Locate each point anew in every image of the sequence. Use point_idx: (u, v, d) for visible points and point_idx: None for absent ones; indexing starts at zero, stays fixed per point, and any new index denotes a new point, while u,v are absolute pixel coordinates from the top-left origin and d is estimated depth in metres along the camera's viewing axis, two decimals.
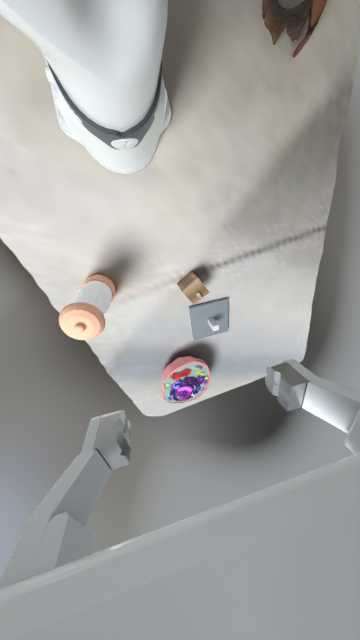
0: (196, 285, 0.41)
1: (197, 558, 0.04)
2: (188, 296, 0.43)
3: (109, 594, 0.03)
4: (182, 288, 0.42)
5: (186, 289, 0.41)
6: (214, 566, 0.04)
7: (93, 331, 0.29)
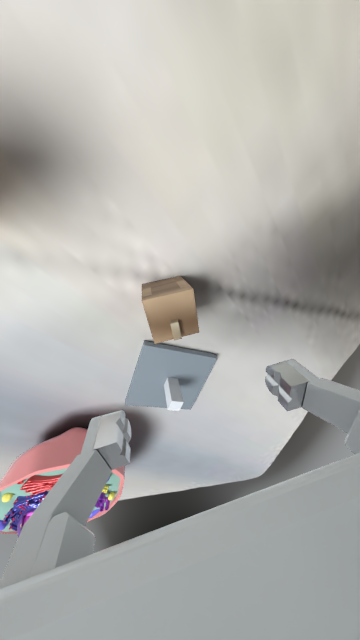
0: (181, 304, 0.17)
1: (197, 558, 0.04)
2: (151, 319, 0.17)
3: (109, 594, 0.03)
4: (146, 295, 0.17)
5: (154, 301, 0.16)
6: (214, 566, 0.04)
7: None
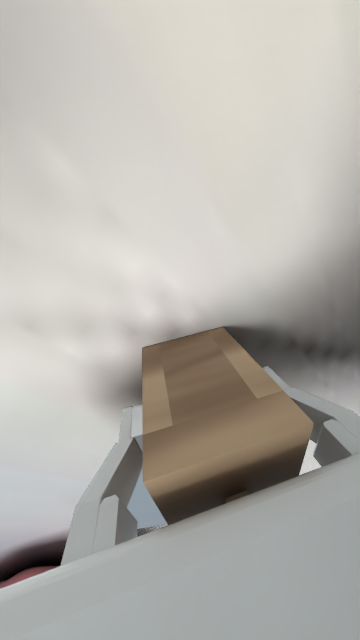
0: (266, 461, 0.05)
1: (197, 558, 0.04)
2: (172, 509, 0.05)
3: (110, 593, 0.03)
4: (156, 427, 0.06)
5: (185, 473, 0.05)
6: (214, 566, 0.04)
7: None
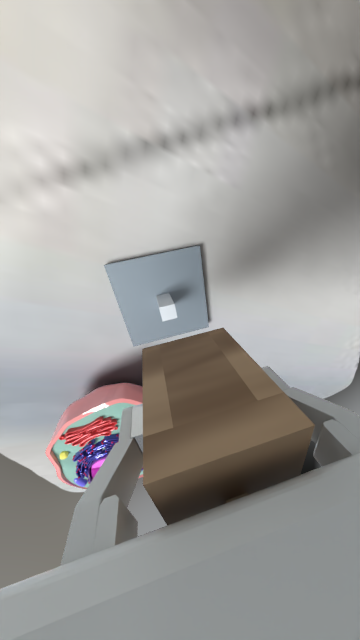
0: (267, 463, 0.05)
1: (197, 558, 0.04)
2: (172, 511, 0.05)
3: (109, 594, 0.03)
4: (157, 429, 0.06)
5: (186, 476, 0.05)
6: (214, 566, 0.03)
7: None
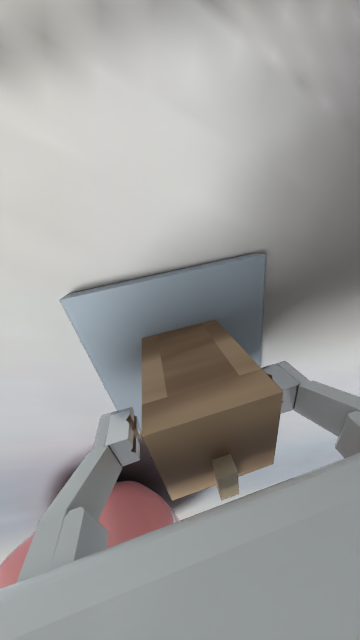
0: (245, 425, 0.06)
1: (197, 558, 0.04)
2: (166, 466, 0.06)
3: (109, 593, 0.03)
4: (153, 398, 0.07)
5: (177, 431, 0.06)
6: (214, 566, 0.04)
7: None
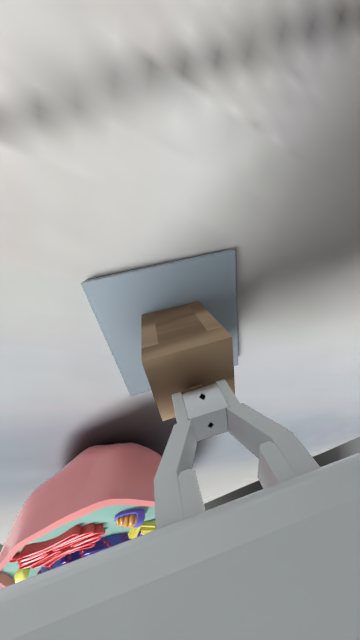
0: (209, 361, 0.10)
1: (197, 558, 0.04)
2: (157, 388, 0.10)
3: (109, 594, 0.03)
4: (149, 345, 0.10)
5: (163, 360, 0.09)
6: (214, 566, 0.04)
7: None
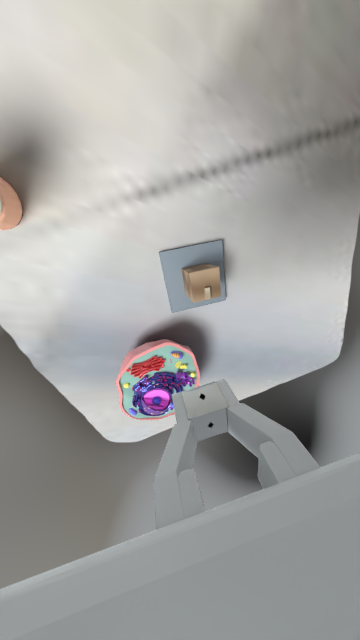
0: (211, 276, 0.28)
1: (197, 558, 0.04)
2: (193, 286, 0.28)
3: (109, 594, 0.03)
4: (190, 271, 0.28)
5: (196, 273, 0.27)
6: (214, 566, 0.04)
7: None
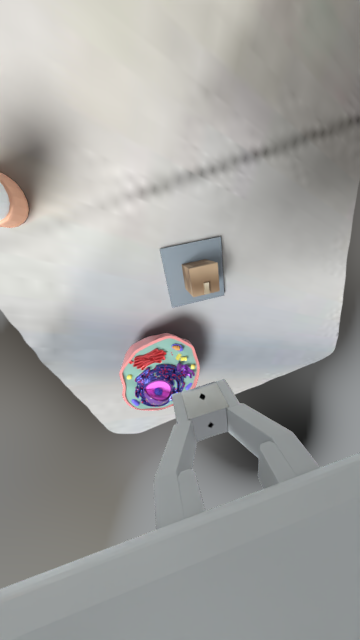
0: (210, 271, 0.29)
1: (197, 558, 0.04)
2: (193, 281, 0.29)
3: (109, 593, 0.03)
4: (189, 267, 0.29)
5: (195, 269, 0.28)
6: (214, 566, 0.04)
7: None
